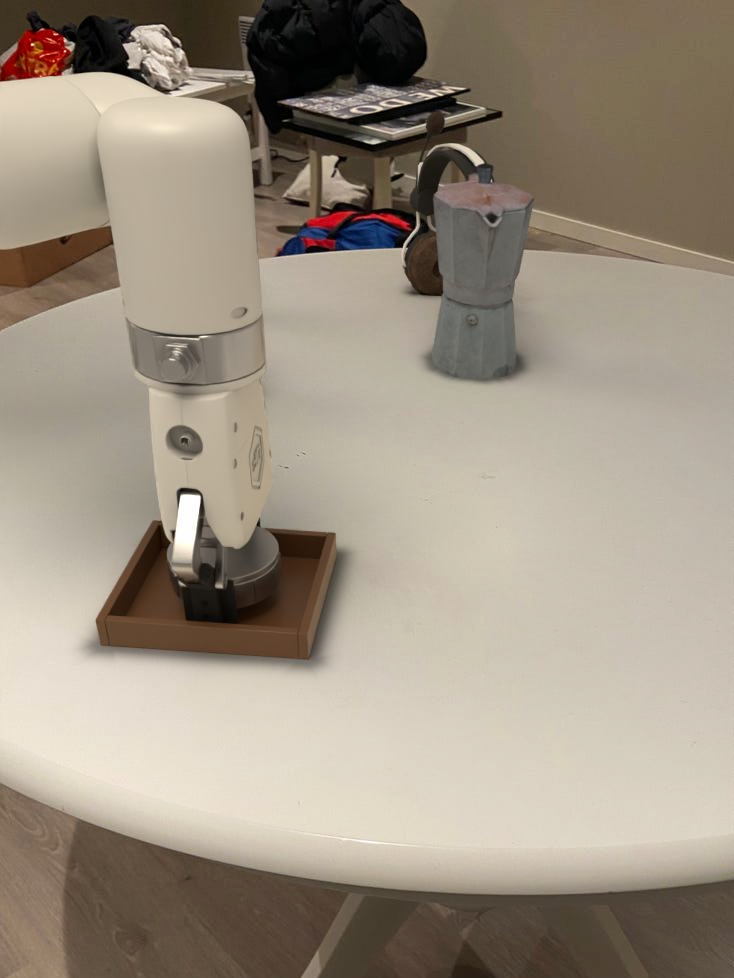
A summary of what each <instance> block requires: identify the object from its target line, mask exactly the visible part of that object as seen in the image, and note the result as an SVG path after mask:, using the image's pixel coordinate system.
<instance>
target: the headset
mask: <svg viewBox="0 0 734 978" xmlns="http://www.w3.org/2000/svg"><path fill="white" fill-rule="evenodd" d="M445 123H446V119H445V116H444V115H443V113H442V112H440V111H433V112H431V113H430V114H429V115H428V116H427V119H426V122H425V129H426V131H427V133H426V139H425V142H424V144H423V146H422V149H421V152H420V156H419V159H418V163H417V166H416V176H415V184H414V185H415V186H414V188H413V189H412V191H411V192H410V194H409V204H410V207H411V208H412V210H413V211H415V229H414V230H413V231H412V232H411V233H410V234H409V236H408V237H407V238H406V240H405V241H404V243H403V246H402V250H401V253H400V261H401V262H400V263H401V266H402V269H403V270H404V274H405V277H406V279H407V280H408V282H410V285H411V287H412V288H413V290H415V291H416V292H417V293H418V294H420V295H422V296H430V297H431V296H433V297H439V296H442V294H443V293H444V292H443V276H442V275H441V274H440V272H439V262H438V249H437V237H436V227H434V226H433V225H432V219H431V216H433V215H434V203H433V197H434V194H435V193H436V192H437V191H439V186H440V183H441V179H442V176H443V174H444V172H445V170H446V168H447V167H448V165H449V163H451V162H453V164H454V165H455V166H456V167H457V168H458V169H459V171H460V172H461V174H462V175H463V177H464V179H465V182H468V175H469V174H470V171H471V169H472V167H473V166H478V165H479V164H483V163H488V162H487V161H486V159H485V157H483V155H482V154H480V153H479V152H478V151H476V150H475V149H474V150H473V149H471V148H470V147H467V146H465V145H462V144H460V143H455V142H454V143H451V142H450V143H442V144H437V145H434V146H433V147H432V148H431V149H430V150H429V151H428V153H427V155H426V157H425V159H424V160H423V158H424V155H425V153H426V149H427V147H428V144H429V141H430V140H431V139H432V138H433V137H434V136H438V135H440V133H442V131H444V128H445ZM448 147H449V148H452V149H446V150H445V149H444V148H448ZM443 149H444V150H443ZM491 182H495V183H496V181H495V178H494V175H493V174H492V178H491ZM420 214H421V215H423V216H425V217H426V221H427V226H428V227H429V229H430V232H424V233H423V231H422V223H421V217H420ZM434 216H435V215H434ZM431 231H432V232H431ZM414 236H416V237H415V238H414ZM413 238H414V239H413ZM412 239H413V240H412ZM411 240H412V241H411ZM407 246H408V247H407Z"/></svg>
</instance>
